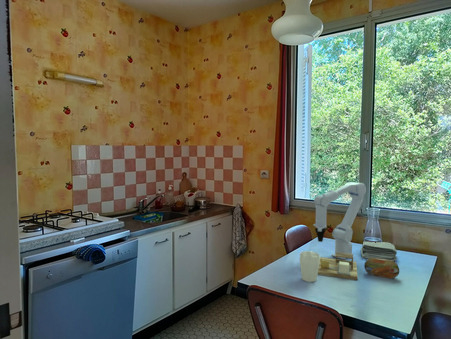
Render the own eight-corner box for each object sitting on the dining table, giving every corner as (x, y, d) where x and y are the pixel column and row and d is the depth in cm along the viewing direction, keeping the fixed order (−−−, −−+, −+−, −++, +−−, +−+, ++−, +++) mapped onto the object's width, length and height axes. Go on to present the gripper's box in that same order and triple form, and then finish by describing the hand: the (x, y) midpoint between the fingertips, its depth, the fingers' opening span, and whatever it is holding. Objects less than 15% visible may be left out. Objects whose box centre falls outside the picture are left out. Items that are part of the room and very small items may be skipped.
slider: (320, 266, 155) (321, 259, 155) (350, 270, 150) (350, 263, 150) (319, 270, 150) (320, 263, 150) (350, 275, 145) (350, 267, 144)
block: (339, 269, 151) (339, 261, 151) (348, 270, 149) (349, 262, 149) (339, 272, 147) (339, 264, 147) (348, 273, 146) (349, 265, 145)
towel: (397, 263, 167) (397, 248, 167) (360, 258, 175) (361, 244, 174) (394, 254, 181) (394, 241, 181) (360, 250, 189) (360, 238, 188)
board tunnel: (319, 259, 171) (319, 246, 170) (356, 264, 164) (356, 250, 163) (315, 273, 150) (315, 258, 150) (357, 280, 143) (358, 264, 143)
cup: (308, 284, 138) (309, 258, 137) (295, 277, 146) (295, 252, 145) (323, 281, 142) (324, 255, 141) (309, 274, 150) (310, 250, 149)
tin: (364, 274, 151) (364, 257, 150) (364, 272, 153) (364, 255, 153) (399, 280, 144) (399, 262, 143) (398, 278, 146) (399, 260, 146)
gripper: (314, 214, 177) (314, 237, 178) (312, 219, 164) (311, 244, 165) (327, 215, 175) (326, 238, 176) (326, 220, 161) (325, 245, 162)
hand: (320, 241), depth 170 cm, fingers closed
